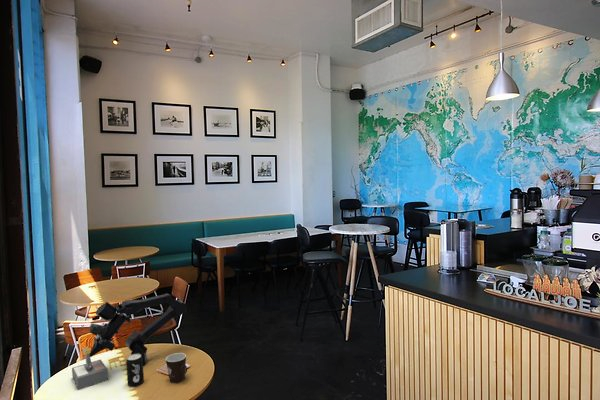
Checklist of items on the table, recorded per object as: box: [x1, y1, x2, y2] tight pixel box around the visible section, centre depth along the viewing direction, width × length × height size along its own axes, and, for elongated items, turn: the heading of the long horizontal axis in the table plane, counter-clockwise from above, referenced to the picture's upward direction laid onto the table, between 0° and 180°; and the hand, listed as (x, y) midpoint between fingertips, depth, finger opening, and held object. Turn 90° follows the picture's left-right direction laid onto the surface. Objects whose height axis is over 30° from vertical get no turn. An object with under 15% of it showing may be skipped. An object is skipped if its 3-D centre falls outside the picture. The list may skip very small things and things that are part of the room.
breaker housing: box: [71, 359, 109, 391], centre depth 182 cm, size 12×13×5 cm
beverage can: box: [125, 354, 145, 387], centre depth 177 cm, size 7×7×12 cm
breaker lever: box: [81, 345, 93, 370], centre depth 181 cm, size 2×5×9 cm, turn 38°
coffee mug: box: [165, 352, 188, 384], centre depth 177 cm, size 12×9×10 cm
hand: (89, 356), depth 182 cm, fingers closed, pressing on breaker lever
